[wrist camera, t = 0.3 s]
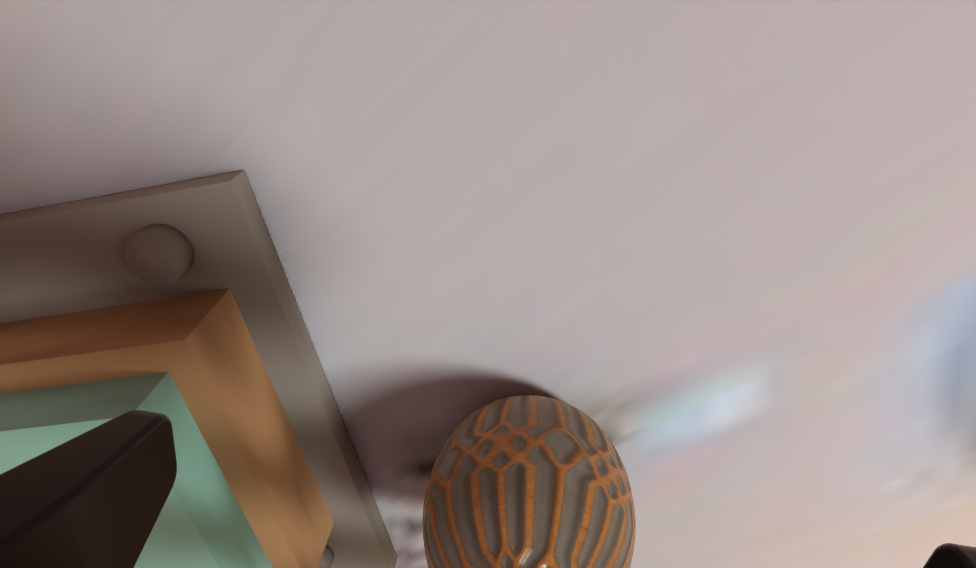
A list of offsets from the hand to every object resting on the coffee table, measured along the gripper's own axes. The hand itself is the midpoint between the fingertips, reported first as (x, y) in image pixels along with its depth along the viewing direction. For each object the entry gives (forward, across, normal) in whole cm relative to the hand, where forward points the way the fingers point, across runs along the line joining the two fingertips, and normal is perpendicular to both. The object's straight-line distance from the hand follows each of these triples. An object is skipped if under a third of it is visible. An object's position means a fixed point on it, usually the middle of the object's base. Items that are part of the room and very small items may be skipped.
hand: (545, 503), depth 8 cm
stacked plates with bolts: (+13, +13, +12) cm, 22 cm away
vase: (+14, -1, +11) cm, 17 cm away
